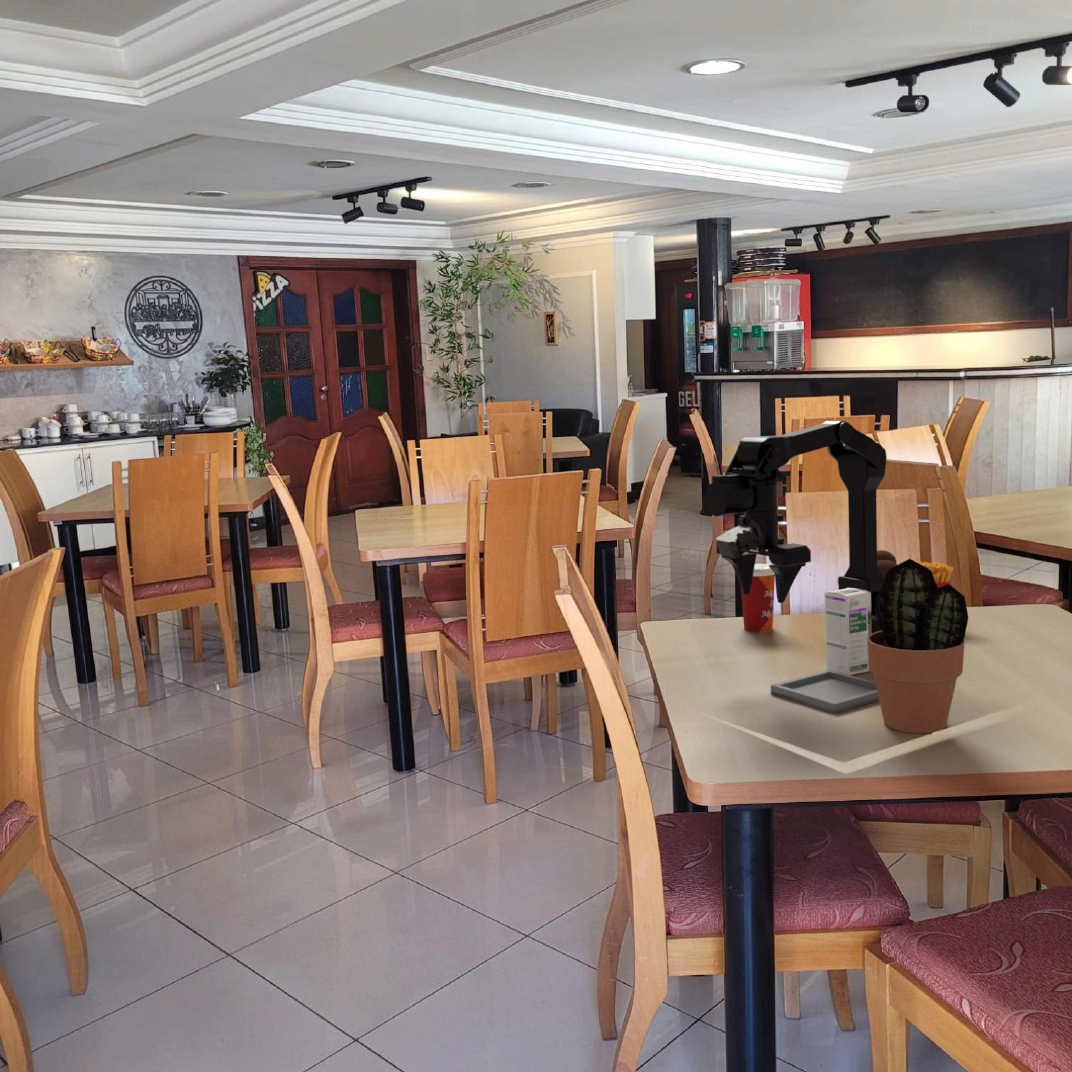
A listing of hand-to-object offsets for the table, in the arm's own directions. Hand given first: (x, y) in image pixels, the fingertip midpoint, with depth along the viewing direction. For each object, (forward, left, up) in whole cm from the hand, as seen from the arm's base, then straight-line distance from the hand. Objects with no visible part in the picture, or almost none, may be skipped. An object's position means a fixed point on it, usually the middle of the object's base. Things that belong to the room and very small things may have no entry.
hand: (763, 598), depth 184 cm
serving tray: (-1, +14, -14) cm, 20 cm away
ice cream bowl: (-47, -15, -15) cm, 52 cm away
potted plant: (+1, +32, -15) cm, 35 cm away
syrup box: (-14, +6, -15) cm, 21 cm away
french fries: (-51, -6, -14) cm, 53 cm away
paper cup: (-22, -25, -15) cm, 36 cm away
